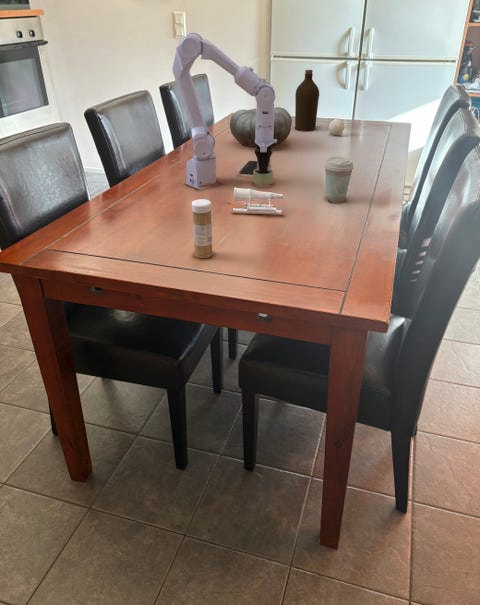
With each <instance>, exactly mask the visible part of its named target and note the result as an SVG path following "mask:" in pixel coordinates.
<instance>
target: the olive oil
mask: <svg viewBox="0 0 480 605" xmlns="http://www.w3.org/2000/svg"><path fill="white" fill-rule="evenodd" d="M304 72H305V73H304V78H303V81H302V82H301V83H300V84H299V85H298V86H297V87H296V90H295V93H294V94H295V100H294V102H295V104H294V107H295V108H294V109H295V110H294V115H295V116H294V130H296V131H300V132H313V131H315V130H316V127H317V116H318V108H319V102H320V89H319V87H318V85H317V84H316V82H315V81H314V80H313V72H314V71H313V69H305V71H304Z"/></svg>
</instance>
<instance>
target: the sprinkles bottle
mask: <svg viewBox="0 0 480 605" xmlns="http://www.w3.org/2000/svg"><path fill="white" fill-rule="evenodd" d="M212 207H213V206H212V202H211V201H210V200H209V199H204V198H203V199H202V198H199V199H195V200H192V202H191V212H192V230H193V232H192V233H193V234H192V235H193V247H194V252H193V255H194V257H196V258H199V259H208V258H210V257H212V256H213V254H214V252H213V222H212Z"/></svg>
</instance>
